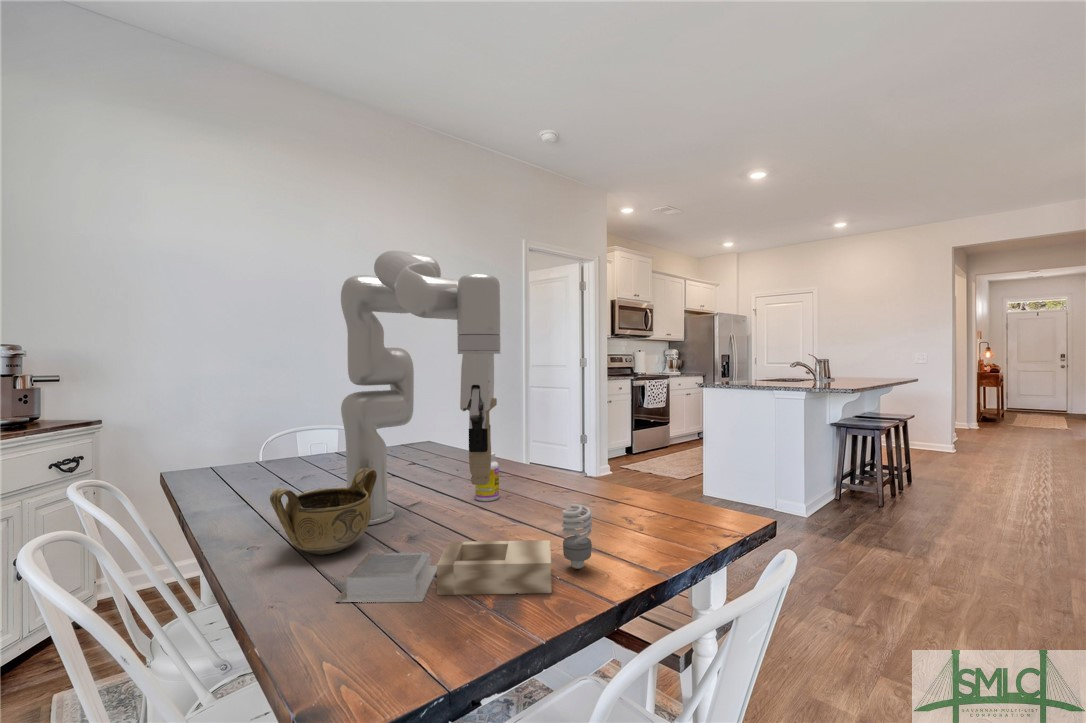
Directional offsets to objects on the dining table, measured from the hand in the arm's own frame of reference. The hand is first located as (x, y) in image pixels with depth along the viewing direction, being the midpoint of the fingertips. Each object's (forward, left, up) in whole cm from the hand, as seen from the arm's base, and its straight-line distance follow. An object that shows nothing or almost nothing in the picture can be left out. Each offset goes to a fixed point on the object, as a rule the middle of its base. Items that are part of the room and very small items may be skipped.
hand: (480, 448), depth 89 cm
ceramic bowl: (-34, +16, -24) cm, 44 cm away
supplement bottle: (-5, +52, -24) cm, 57 cm away
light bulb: (+17, +4, -24) cm, 29 cm away
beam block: (+3, 0, -23) cm, 24 cm away
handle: (0, 0, -6) cm, 6 cm away
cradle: (-16, -1, -23) cm, 28 cm away
